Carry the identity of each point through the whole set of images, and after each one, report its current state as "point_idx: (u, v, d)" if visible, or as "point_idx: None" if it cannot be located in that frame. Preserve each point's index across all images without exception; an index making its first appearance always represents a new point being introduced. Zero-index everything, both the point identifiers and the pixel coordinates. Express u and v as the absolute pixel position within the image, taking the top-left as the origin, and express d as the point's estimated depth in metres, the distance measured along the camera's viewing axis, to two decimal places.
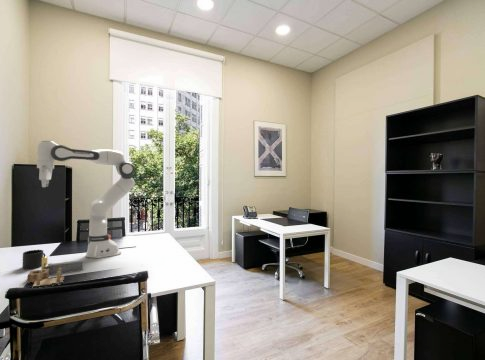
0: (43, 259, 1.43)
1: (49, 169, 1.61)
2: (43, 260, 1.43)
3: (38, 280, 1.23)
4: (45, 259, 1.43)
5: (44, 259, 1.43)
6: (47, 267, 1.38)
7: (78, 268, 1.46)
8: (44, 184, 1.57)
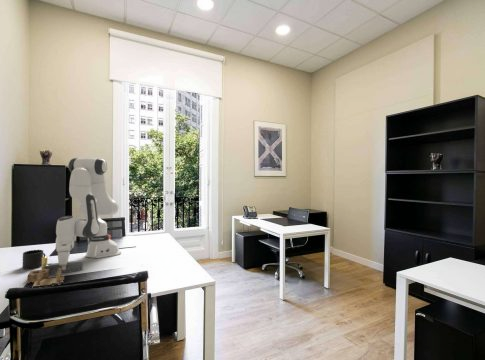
0: (43, 259, 1.43)
1: None
2: (43, 260, 1.43)
3: (38, 280, 1.23)
4: (45, 259, 1.43)
5: (44, 259, 1.43)
6: (47, 267, 1.38)
7: (78, 268, 1.46)
8: None
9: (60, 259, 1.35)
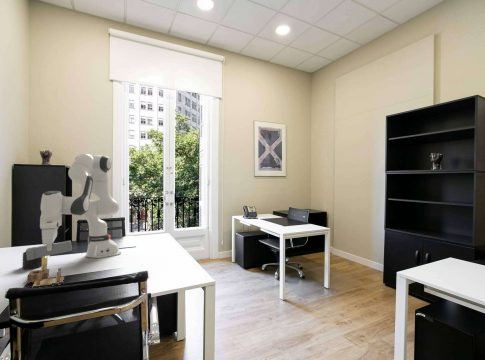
0: (43, 259, 1.43)
1: None
2: (43, 260, 1.43)
3: (38, 280, 1.23)
4: (45, 259, 1.43)
5: (44, 259, 1.43)
6: (29, 251, 1.22)
7: (66, 249, 1.30)
8: None
9: (44, 237, 1.19)
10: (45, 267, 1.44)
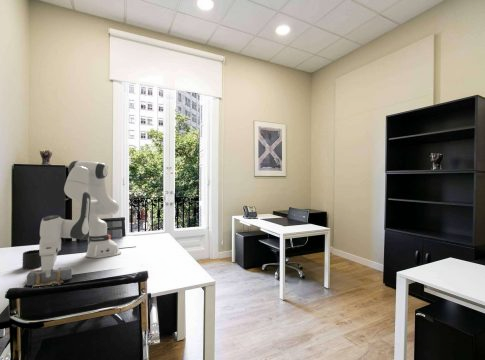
0: None
1: None
2: None
3: (38, 280, 1.23)
4: None
5: None
6: (30, 276, 1.22)
7: (66, 277, 1.30)
8: None
9: (44, 264, 1.19)
10: None
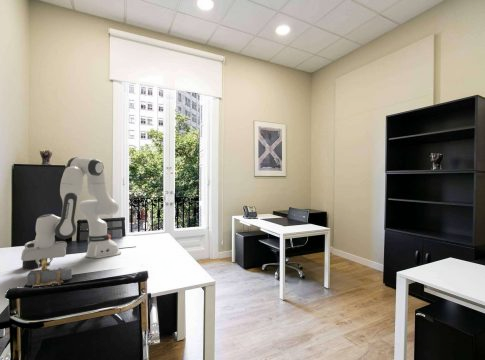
0: (43, 259, 1.43)
1: None
2: (43, 260, 1.43)
3: (38, 280, 1.23)
4: (45, 259, 1.43)
5: (44, 259, 1.43)
6: (30, 276, 1.22)
7: (66, 277, 1.30)
8: (50, 262, 1.46)
9: None
10: (45, 267, 1.44)
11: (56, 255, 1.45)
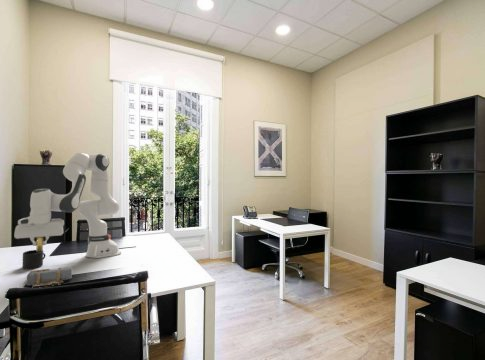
0: (38, 238, 1.31)
1: None
2: (38, 239, 1.31)
3: (38, 280, 1.23)
4: (40, 238, 1.32)
5: (39, 238, 1.31)
6: (30, 276, 1.22)
7: (66, 277, 1.30)
8: (46, 241, 1.34)
9: None
10: (40, 246, 1.32)
11: (53, 233, 1.34)
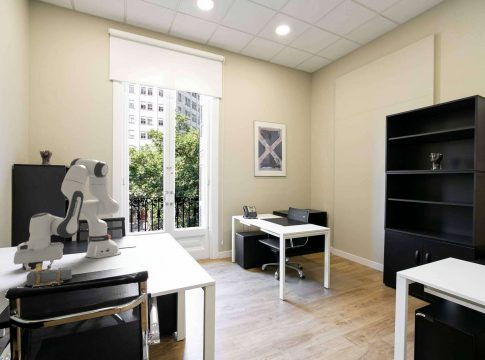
0: (38, 266, 1.31)
1: None
2: (38, 268, 1.31)
3: (38, 280, 1.23)
4: (40, 266, 1.32)
5: (39, 266, 1.31)
6: (30, 276, 1.22)
7: (66, 277, 1.30)
8: (51, 264, 1.35)
9: None
10: None
11: (52, 258, 1.34)
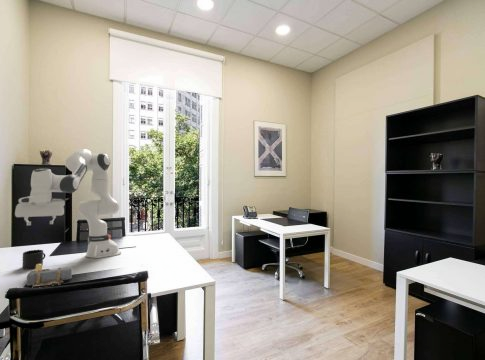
0: (37, 267, 1.31)
1: None
2: (37, 268, 1.31)
3: (38, 280, 1.23)
4: (40, 267, 1.32)
5: (38, 267, 1.31)
6: (30, 276, 1.22)
7: (66, 277, 1.30)
8: (53, 220, 1.36)
9: None
10: None
11: (53, 213, 1.34)
